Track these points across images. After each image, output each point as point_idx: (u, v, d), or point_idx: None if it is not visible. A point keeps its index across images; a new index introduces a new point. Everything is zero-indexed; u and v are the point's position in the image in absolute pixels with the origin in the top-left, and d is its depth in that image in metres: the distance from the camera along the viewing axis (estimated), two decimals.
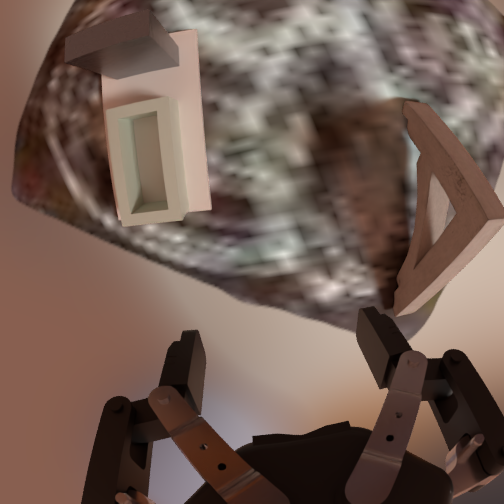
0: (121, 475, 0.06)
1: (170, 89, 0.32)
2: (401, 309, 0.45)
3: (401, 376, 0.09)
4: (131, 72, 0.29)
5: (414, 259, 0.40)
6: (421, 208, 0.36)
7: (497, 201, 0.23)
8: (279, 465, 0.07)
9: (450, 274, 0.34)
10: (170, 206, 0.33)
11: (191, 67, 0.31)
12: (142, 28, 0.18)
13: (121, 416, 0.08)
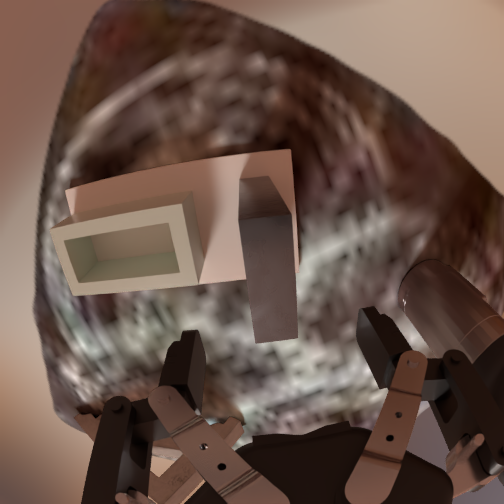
0: (121, 475, 0.06)
1: (219, 250, 0.32)
2: (81, 424, 0.44)
3: (401, 376, 0.09)
4: None
5: None
6: None
7: (178, 503, 0.32)
8: (279, 465, 0.07)
9: None
10: (82, 285, 0.27)
11: None
12: (268, 335, 0.19)
13: (121, 416, 0.08)
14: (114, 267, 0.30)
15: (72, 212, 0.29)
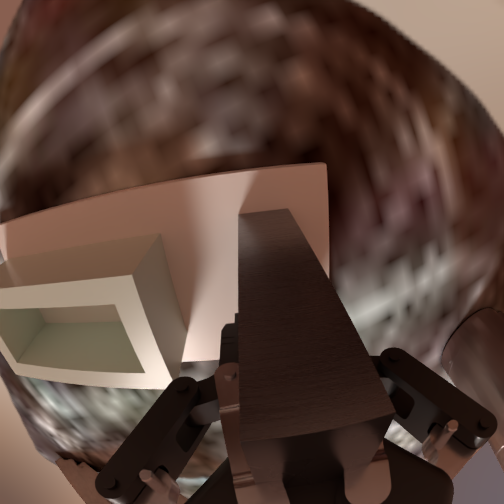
0: (157, 453, 0.07)
1: (208, 321, 0.20)
2: (62, 471, 0.32)
3: None
4: None
5: None
6: None
7: None
8: None
9: None
10: (21, 366, 0.15)
11: None
12: None
13: (188, 396, 0.09)
14: (61, 340, 0.18)
15: (5, 257, 0.17)
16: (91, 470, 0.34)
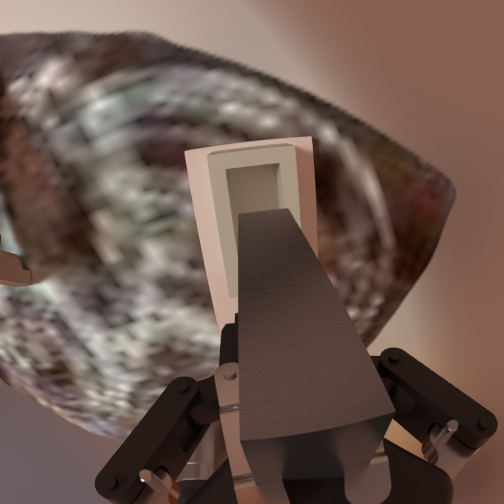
0: (157, 453, 0.07)
1: None
2: None
3: None
4: None
5: None
6: None
7: None
8: None
9: None
10: (221, 173, 0.26)
11: (220, 305, 0.38)
12: None
13: (189, 396, 0.09)
14: None
15: (286, 140, 0.30)
16: None
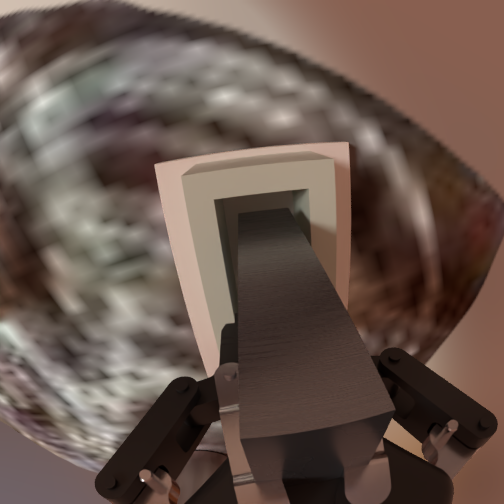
0: (157, 453, 0.07)
1: None
2: None
3: None
4: None
5: None
6: None
7: None
8: None
9: None
10: (208, 207, 0.15)
11: (214, 369, 0.27)
12: None
13: (189, 396, 0.09)
14: (225, 239, 0.19)
15: (311, 147, 0.19)
16: None
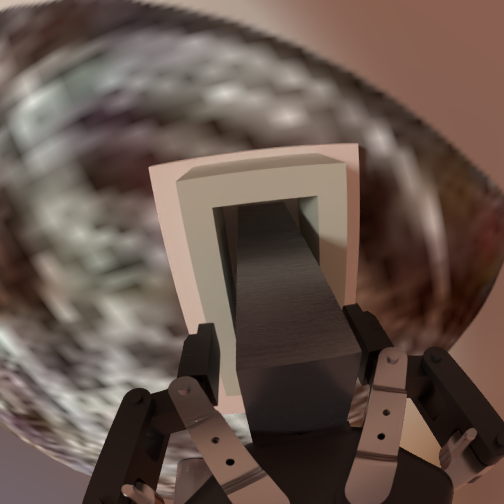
0: (131, 467, 0.07)
1: None
2: None
3: (379, 372, 0.09)
4: None
5: None
6: None
7: None
8: (279, 465, 0.07)
9: None
10: (205, 216, 0.14)
11: None
12: None
13: (141, 408, 0.09)
14: (225, 249, 0.18)
15: (318, 149, 0.18)
16: None
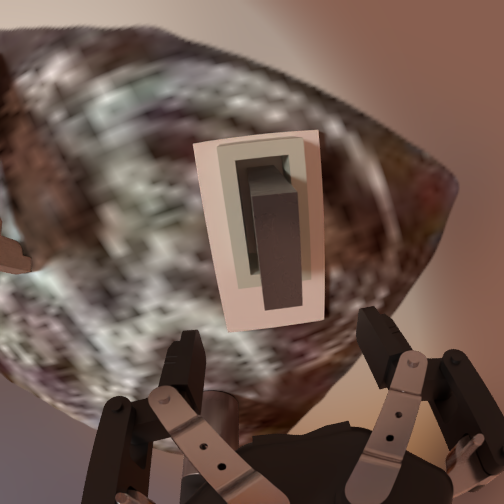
0: (121, 475, 0.06)
1: None
2: None
3: (401, 376, 0.09)
4: None
5: None
6: None
7: None
8: (279, 465, 0.07)
9: None
10: (231, 164, 0.26)
11: (227, 297, 0.38)
12: (276, 302, 0.22)
13: (121, 416, 0.08)
14: (239, 189, 0.30)
15: (293, 133, 0.30)
16: None
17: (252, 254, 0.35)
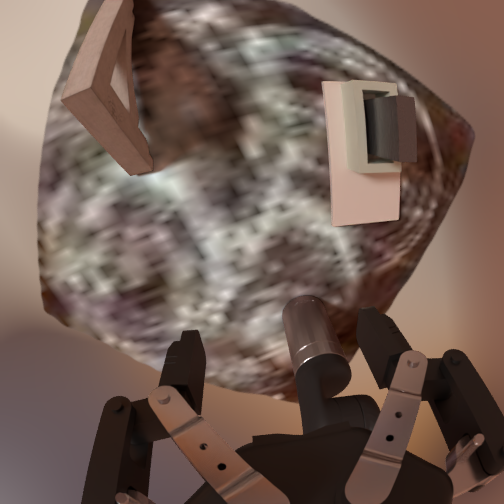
0: (121, 475, 0.06)
1: (352, 178, 0.48)
2: None
3: (401, 376, 0.09)
4: None
5: (127, 36, 0.32)
6: (130, 80, 0.35)
7: (74, 108, 0.26)
8: (279, 465, 0.07)
9: (94, 33, 0.26)
10: (360, 91, 0.36)
11: (337, 194, 0.49)
12: (405, 157, 0.33)
13: (121, 416, 0.08)
14: None
15: None
16: (132, 26, 0.34)
17: None
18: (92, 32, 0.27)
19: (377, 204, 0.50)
